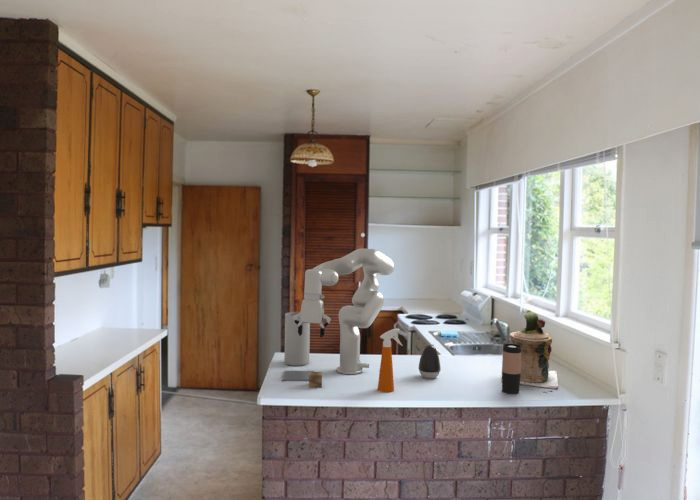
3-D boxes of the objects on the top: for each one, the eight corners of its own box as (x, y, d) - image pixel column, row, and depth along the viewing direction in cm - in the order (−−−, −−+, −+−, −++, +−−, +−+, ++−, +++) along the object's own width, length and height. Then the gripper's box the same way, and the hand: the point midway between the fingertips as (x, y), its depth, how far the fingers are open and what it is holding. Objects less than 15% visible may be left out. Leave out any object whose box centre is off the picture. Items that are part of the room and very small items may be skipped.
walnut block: (321, 384, 228) (322, 371, 227) (321, 387, 222) (322, 375, 222) (309, 383, 227) (309, 371, 227) (308, 387, 222) (309, 375, 222)
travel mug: (498, 388, 226) (500, 343, 225) (515, 388, 226) (517, 343, 225) (505, 394, 218) (506, 347, 217) (522, 394, 219) (524, 347, 218)
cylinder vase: (302, 367, 253) (303, 317, 252) (280, 364, 258) (280, 315, 256) (313, 361, 265) (314, 313, 264) (291, 358, 269) (292, 311, 268)
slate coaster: (314, 372, 246) (314, 370, 246) (313, 380, 232) (313, 379, 232) (284, 371, 245) (284, 370, 245) (282, 380, 231) (282, 379, 231)
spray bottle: (404, 391, 220) (406, 329, 218) (380, 393, 217) (382, 330, 215) (398, 386, 226) (400, 326, 225) (375, 387, 223) (376, 327, 222)
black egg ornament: (442, 375, 244) (443, 343, 243) (437, 381, 235) (437, 348, 234) (422, 372, 248) (422, 341, 248) (415, 378, 239) (416, 345, 238)
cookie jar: (500, 383, 235) (502, 313, 233) (503, 369, 258) (505, 305, 256) (558, 390, 226) (561, 317, 225) (557, 375, 249) (559, 309, 248)
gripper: (333, 297, 230) (331, 336, 230) (296, 295, 233) (294, 333, 233) (329, 299, 222) (328, 339, 223) (291, 296, 226) (289, 335, 226)
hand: (311, 335), depth 228 cm, fingers open, 9 cm apart
